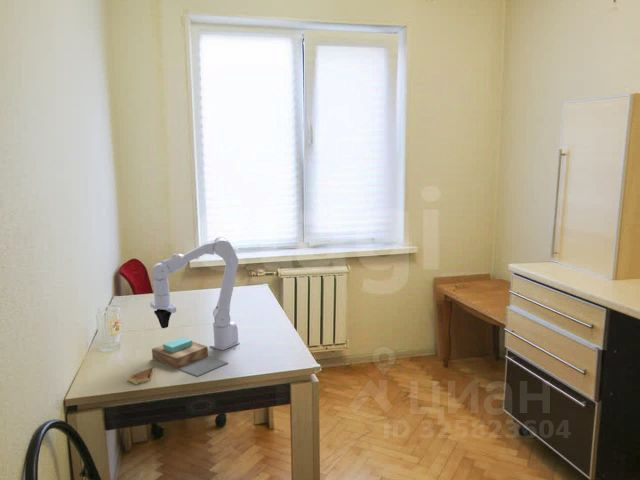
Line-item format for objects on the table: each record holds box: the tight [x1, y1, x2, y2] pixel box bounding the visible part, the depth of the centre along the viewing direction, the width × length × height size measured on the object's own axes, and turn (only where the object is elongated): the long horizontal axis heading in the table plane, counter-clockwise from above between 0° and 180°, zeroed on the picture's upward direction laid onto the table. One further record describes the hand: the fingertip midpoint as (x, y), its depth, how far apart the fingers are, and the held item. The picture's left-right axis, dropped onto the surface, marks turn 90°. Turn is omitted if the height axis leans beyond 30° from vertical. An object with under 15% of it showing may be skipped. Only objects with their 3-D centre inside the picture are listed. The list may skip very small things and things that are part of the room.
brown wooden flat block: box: [151, 341, 209, 370], centre depth 192 cm, size 14×16×4 cm
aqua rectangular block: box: [162, 337, 193, 353], centre depth 192 cm, size 9×6×2 cm, turn 141°
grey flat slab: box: [177, 355, 229, 378], centre depth 183 cm, size 14×11×1 cm
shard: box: [126, 366, 154, 385], centre depth 176 cm, size 11×8×2 cm
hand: (164, 327), depth 196 cm, fingers closed
